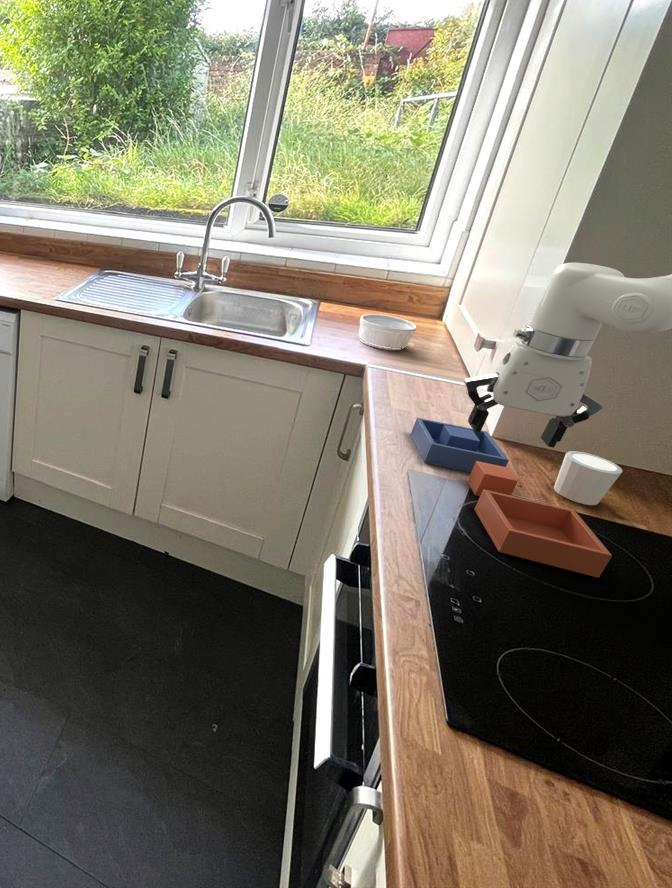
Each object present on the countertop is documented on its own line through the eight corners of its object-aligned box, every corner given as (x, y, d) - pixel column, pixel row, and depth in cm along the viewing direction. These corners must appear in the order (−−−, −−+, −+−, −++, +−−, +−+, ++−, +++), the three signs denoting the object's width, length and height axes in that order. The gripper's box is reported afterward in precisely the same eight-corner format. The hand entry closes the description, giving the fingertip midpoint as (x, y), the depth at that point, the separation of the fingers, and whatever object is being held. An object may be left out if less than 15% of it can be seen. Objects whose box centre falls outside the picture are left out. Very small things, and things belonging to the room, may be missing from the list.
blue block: (471, 461, 110) (480, 441, 108) (442, 455, 112) (450, 435, 110) (463, 450, 114) (472, 430, 112) (435, 444, 115) (443, 424, 114)
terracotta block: (507, 503, 99) (518, 481, 97) (474, 495, 101) (484, 473, 99) (498, 488, 103) (508, 467, 101) (466, 481, 105) (476, 460, 103)
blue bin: (500, 479, 106) (509, 460, 104) (424, 462, 110) (431, 443, 109) (479, 449, 115) (487, 431, 114) (410, 434, 120) (416, 417, 118)
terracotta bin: (599, 578, 83) (612, 555, 82) (498, 552, 88) (509, 530, 86) (562, 530, 93) (574, 509, 91) (473, 509, 97) (483, 489, 96)
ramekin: (348, 342, 169) (355, 319, 166) (361, 332, 177) (368, 310, 174) (402, 356, 160) (410, 332, 157) (413, 345, 168) (422, 322, 166)
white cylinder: (539, 486, 104) (556, 453, 101) (564, 480, 106) (581, 448, 103) (587, 510, 98) (607, 475, 95) (613, 503, 100) (632, 469, 97)
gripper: (494, 339, 91) (453, 432, 98) (643, 362, 85) (588, 461, 91) (479, 324, 98) (441, 413, 104) (616, 345, 91) (566, 438, 98)
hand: (509, 435), depth 98 cm, fingers open, 9 cm apart
